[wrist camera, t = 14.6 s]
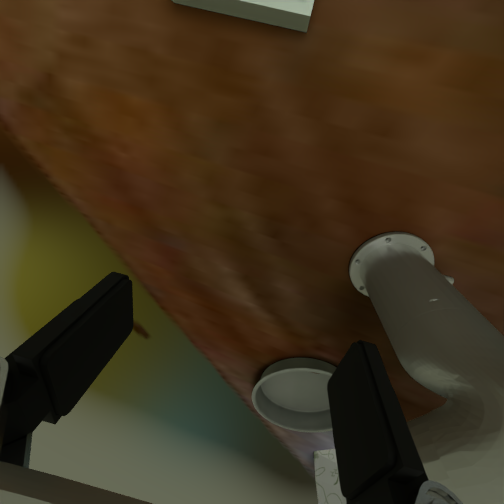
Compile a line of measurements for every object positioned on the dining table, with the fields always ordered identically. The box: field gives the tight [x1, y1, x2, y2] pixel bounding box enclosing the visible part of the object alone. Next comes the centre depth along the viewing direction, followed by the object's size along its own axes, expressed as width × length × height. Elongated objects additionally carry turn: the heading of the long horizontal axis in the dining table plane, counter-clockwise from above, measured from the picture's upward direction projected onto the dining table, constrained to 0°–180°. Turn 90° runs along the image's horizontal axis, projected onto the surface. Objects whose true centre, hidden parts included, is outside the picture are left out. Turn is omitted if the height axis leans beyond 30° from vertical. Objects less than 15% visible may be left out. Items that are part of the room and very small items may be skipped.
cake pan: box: [252, 358, 336, 432], centre depth 57 cm, size 25×25×4 cm
